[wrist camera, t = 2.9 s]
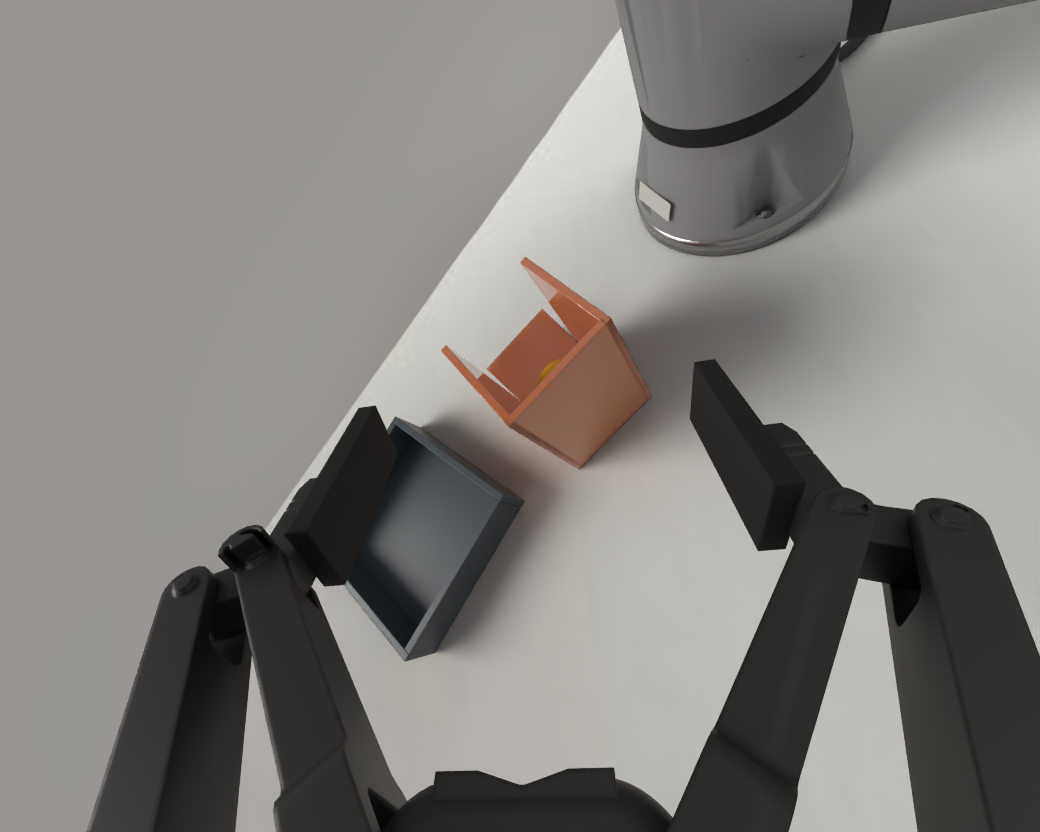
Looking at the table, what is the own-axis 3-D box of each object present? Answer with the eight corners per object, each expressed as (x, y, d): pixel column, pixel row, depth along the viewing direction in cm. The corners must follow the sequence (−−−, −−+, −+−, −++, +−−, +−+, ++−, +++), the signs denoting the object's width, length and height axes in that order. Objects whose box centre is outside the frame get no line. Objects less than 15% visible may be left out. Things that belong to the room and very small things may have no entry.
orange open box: (651, 396, 32) (611, 317, 22) (579, 469, 33) (508, 426, 23) (557, 321, 38) (492, 233, 28) (498, 384, 39) (414, 321, 29)
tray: (420, 427, 42) (395, 416, 39) (524, 501, 34) (503, 494, 31) (345, 550, 41) (314, 549, 38) (434, 653, 34) (404, 661, 31)
